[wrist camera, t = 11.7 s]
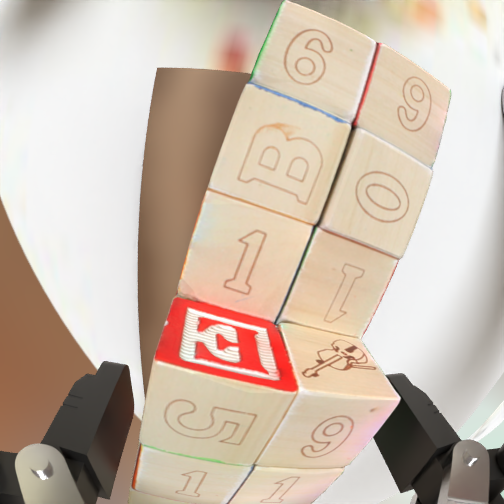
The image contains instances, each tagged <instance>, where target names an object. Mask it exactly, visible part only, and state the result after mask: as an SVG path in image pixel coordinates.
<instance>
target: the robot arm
mask: <svg viewBox="0 0 504 504" xmlns="http://www.w3.org/2000/svg"><path fill="white" fill-rule="evenodd" d="M502 103H503V112H504V88H503V93H502ZM385 376H386V377H387V379H388V380H389V382H390V383H391V385H392V387H393V388H394V390H395V391H396V392H397V393H398V395H399V396H400V397H401V399H400V402H399V403H398V405H397V407H396V408H395V409H394V411H393V412H392V413H391V415H390V416H389V417H388V419H387V420H386V421H385V422H384V424H383V425H382V426H381V428H380V429H379V430H378V432H377V433H376V434H375V435H374V437H373V438H374V440H375V442H376V444H377V446H378V448H379V450H380V452H381V454H382V456H383V458H384V460H385V462H386V464H387V466H388V468H389V470H390V472H391V474H392V476H393V478H394V480H395V482H396V484H397V487H398V489H399V491H400V493H403V492H406V491H409V490H412V489H414V490H415V492H416V493H415V494H414V496H413V497H412V499H411V502H410V504H504V499H503V498H502V496H501V494H500V493H501V492H502V491H503V490H504V444H503V445H502V447H501V448H497V449H489V450H486V448H485V447H484V446H483V445H482V444H480V443H478V442H476V441H473V440H461V439H460V438H459V437H458V435H457V434H456V432H455V431H454V430H453V428H452V427H451V426H450V424H449V423H448V422H447V421H446V419H445V418H444V417H443V415H442V414H441V413H439V410H438V409H437V407H436V406H435V405H433V402H432V401H431V400H430V398H429V397H428V396H427V395H426V393H424V392H423V391H421V390H420V389H419V388H417V387H416V386H413V385H412V383H411V382H410V381H409V379H408V378H407V377H406V376H405V375H404V374H402V373H398V374H389V375H385ZM133 414H134V398H133V392H132V385H131V378H130V371H129V367H128V365H125V364H119V363H113V362H108V361H104V362H103V363H102V364H101V366H100V368H99V369H98V371H97V373H96V375H91V374H86V375H85V376H84V377H82V378H81V379H79V380H78V381H76V382H75V384H74V385H73V387H72V389H71V390H70V392H69V394H68V396H67V397H66V399H65V400H64V402H63V406H61V407H60V409H59V411H58V413H57V415H56V416H55V418H54V420H53V422H52V424H51V425H50V427H49V429H48V431H47V433H46V435H45V436H44V438H43V440H42V442H41V443H40V444H33V445H29V446H27V447H25V448H23V449H22V450H21V451H20V452H19V453H10V452H4V451H0V504H96V501H97V497H102V498H105V499H110V496H111V492H112V488H113V484H114V481H115V477H116V473H117V470H118V466H119V462H120V459H121V456H122V452H123V449H124V445H125V442H126V438H127V435H128V432H129V429H130V426H131V422H132V419H133Z"/></svg>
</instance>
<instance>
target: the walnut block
mask: <svg viewBox="0 0 504 504" xmlns="http://www.w3.org/2000/svg"><path fill="white" fill-rule="evenodd" d="M250 76H251V74H248V73H240V72H231V71H221V70H208V69H191V68H157V72H156V77H155V82H154V88H153V94H152V100H151V106H150V113H149V119H148V127H147V134H146V142H145V151H144V160H143V171H142V182H141V195H140V211H139V233H138V313H139V335H140V350H141V363H142V375H143V385H144V394H145V399H146V394H147V389H148V383H149V378H150V373H151V368H152V363H153V359H154V355H155V352H156V349H157V346H158V343H159V340H160V337H161V334H162V331H163V327H164V324H165V321H166V319H167V316H168V313H169V310H170V306H171V303H172V300H173V298H174V297H175V295H176V293H177V290H178V289H177V287H178V284H179V280H180V276H181V272H182V269H183V265H184V262H185V258H186V255H187V251H188V248H189V244H190V240H191V236H192V233H193V230H194V226H195V223H196V220H197V217H198V214H199V211H200V208H201V204H202V201H203V198H204V196H205V193H206V190H207V188H208V185H209V182H210V178H211V175H212V172H213V169H214V166H215V164H216V161H217V158H218V155H219V152H220V150H221V147H222V144H223V141H224V139H225V136H226V133H227V131H228V128H229V125H230V122H231V120H232V117H233V114H234V112H235V109H236V106H237V104H238V101H239V99H240V96H241V93H242V91H243V89H244V87H245V85H246V84H247V83H248V81H249V79H250Z"/></svg>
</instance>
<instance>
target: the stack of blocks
mask: <svg viewBox="0 0 504 504" xmlns="http://www.w3.org/2000/svg"><path fill="white" fill-rule="evenodd" d="M450 99H451V90H450V89H449V88H448V87H447V86H445V85H444V84H443V83H441V82H440V81H439V80H437V79H436V78H435V77H433V76H432V75H431V74H429V73H428V72H426V71H425V70H424V69H422V68H421V67H419V66H418V65H416V64H415V63H413V62H412V61H411V60H409V59H408V58H406V57H405V56H403V55H402V54H400V53H398V52H397V51H395V50H394V49H392V48H390V47H389V46H387V45H385V44H384V43H377V42H375V41H374V40H373V39H371V38H370V37H368V36H366V35H364V34H363V33H361V32H359V31H357V30H355V29H353V28H351V27H349V26H347V25H345V24H343V23H341V22H339V21H337V20H335V19H332V18H330V17H327V16H325V15H323V14H321V13H319V12H316V11H314V10H311V9H308V8H306V7H304V6H301V5H299V4H296V3H293V2H290V1H287V0H284V1H283V2H282V3H281V5H280V7H279V10H278V12H277V14H276V16H275V19H274V21H273V23H272V25H271V28H270V30H269V32H268V35H267V37H266V40H265V42H264V44H263V46H262V48H261V50H260V53H259V55H258V58H257V60H256V63H255V66H254V69H253V71H252V74H251V76H250V79H249V81H248V83H247V84H246V85H245V87H244V89H243V91H242V93H241V96H240V99H239V101H238V104H237V106H236V109H235V112H234V114H233V117H232V120H231V122H230V125H229V128H228V131H227V133H226V136H225V139H224V141H223V144H222V147H221V150H220V152H219V155H218V158H217V161H216V164H215V166H214V169H213V172H212V175H211V178H210V182H209V185H208V188H207V190H206V193H205V196H204V198H203V201H202V204H201V208H200V211H199V214H198V217H197V220H196V223H195V226H194V230H193V233H192V236H191V240H190V244H189V248H188V251H187V255H186V258H185V262H184V265H183V269H182V272H181V276H180V280H179V284H178V287H177V289H178V290H177V293H176V295H175V297H174V298H173V300H172V303H171V306H170V310H169V313H168V316H167V319H166V321H165V324H164V327H163V331H162V334H161V337H160V340H159V343H158V346H157V349H156V352H155V355H154V359H153V363H152V368H151V373H150V378H149V383H148V389H147V394H146V399H145V405H144V411H143V417H142V423H141V430H140V436H139V441H140V442H139V447H138V451H137V456H136V460H135V465H134V470H133V475H132V480H131V485H130V490H129V499H128V504H312V503H313V502H314V501H315V500H316V499H317V498H318V497H319V496H320V495H321V494H322V493H323V492H325V490H326V489H327V488H328V487H329V486H330V485H331V484H332V483H333V482H334V481H335V480H336V479H337V478H338V477H339V476H340V475H341V474H342V473H343V471H344V468H345V466H347V465H349V464H350V463H351V462H352V461H353V460H354V459H355V458H356V457H357V455H358V454H359V453H360V452H361V451H362V450H363V449H364V447H365V446H366V445H367V444H368V443H369V441H370V440H371V439H372V438H373V437H374V435H375V434H376V433H377V432H378V430H379V429H380V428H381V426H382V425H383V424H384V422H385V421H386V420H387V419H388V417H389V416H390V415H391V413H392V412H393V411H394V409H395V408H396V407H397V405H398V403H399V402H400V399H401V397H400V396H399V395H398V393H397V392H396V391H395V390H394V388H393V387H392V385H391V383H390V382H389V380H388V379H387V377H386V376H385V374H384V373H383V371H382V370H381V368H380V367H379V365H378V364H377V362H376V361H375V360H374V358H373V357H372V355H371V354H370V352H369V351H368V349H367V348H366V346H365V345H364V343H363V342H362V340H361V339H362V337H363V335H364V333H365V332H366V330H367V328H368V326H369V324H370V322H371V320H372V318H373V316H374V314H375V312H376V310H377V308H378V306H379V304H380V302H381V299H382V297H383V295H384V293H385V291H386V289H387V287H388V285H389V282H390V280H391V278H392V276H393V274H394V271H395V269H396V267H397V264H398V261H399V260H400V259H401V258H402V257H403V255H404V253H405V251H406V248H407V246H408V243H409V241H410V238H411V236H412V233H413V231H414V228H415V225H416V223H417V220H418V217H419V215H420V212H421V209H422V206H423V204H424V201H425V198H426V195H427V192H428V189H429V186H430V182H431V179H432V176H433V169H432V166H433V164H434V162H435V159H436V156H437V152H438V149H439V145H440V141H441V137H442V133H443V129H444V125H445V122H446V118H447V112H448V108H449V103H450Z"/></svg>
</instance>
